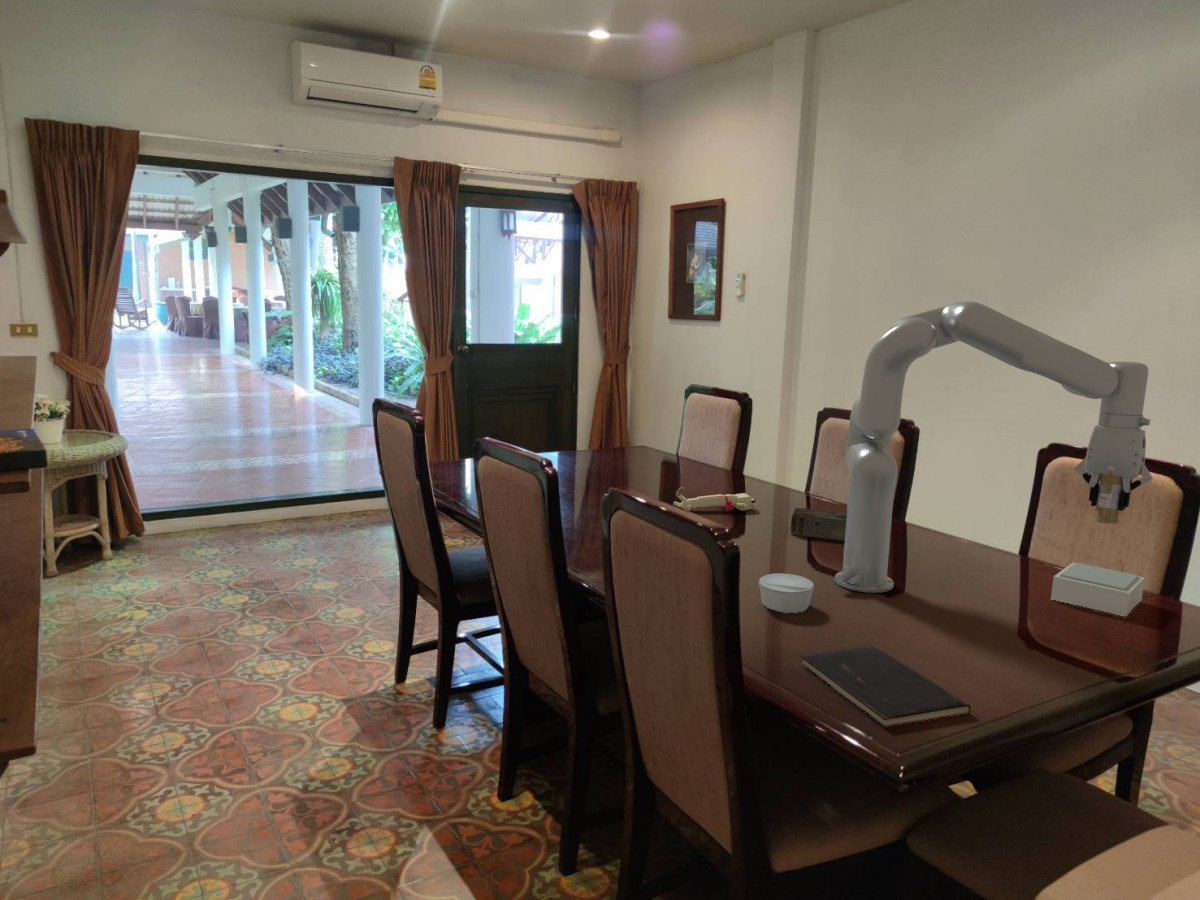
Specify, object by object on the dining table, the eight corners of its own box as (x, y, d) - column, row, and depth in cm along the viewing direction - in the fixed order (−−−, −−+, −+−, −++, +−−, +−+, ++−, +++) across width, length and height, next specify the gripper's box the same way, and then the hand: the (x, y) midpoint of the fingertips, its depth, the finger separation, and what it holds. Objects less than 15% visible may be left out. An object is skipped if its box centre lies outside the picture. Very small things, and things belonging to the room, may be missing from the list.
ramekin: (772, 618, 165) (774, 593, 165) (748, 598, 176) (749, 575, 175) (822, 613, 168) (824, 589, 168) (795, 594, 179) (797, 571, 178)
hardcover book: (883, 732, 123) (884, 718, 123) (799, 667, 144) (800, 655, 144) (970, 717, 128) (971, 703, 128) (876, 656, 150) (877, 644, 149)
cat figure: (681, 520, 243) (761, 511, 247) (679, 492, 241) (760, 483, 246) (671, 512, 252) (749, 503, 257) (670, 484, 251) (748, 476, 255)
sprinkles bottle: (1088, 519, 177) (1096, 457, 175) (1108, 519, 178) (1117, 457, 175) (1103, 524, 173) (1112, 461, 170) (1123, 524, 173) (1132, 461, 171)
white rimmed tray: (1125, 618, 169) (1129, 590, 168) (1050, 600, 178) (1053, 574, 177) (1141, 602, 179) (1145, 575, 178) (1069, 585, 188) (1072, 560, 187)
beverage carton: (863, 544, 218) (864, 520, 217) (789, 536, 225) (790, 512, 224) (864, 536, 226) (866, 513, 225) (793, 528, 232) (794, 505, 231)
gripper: (1171, 425, 168) (1158, 512, 172) (1079, 415, 180) (1069, 497, 183) (1164, 428, 163) (1150, 518, 166) (1069, 418, 175) (1058, 502, 178)
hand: (1108, 506), depth 175 cm, fingers closed on sprinkles bottle, 4 cm apart
